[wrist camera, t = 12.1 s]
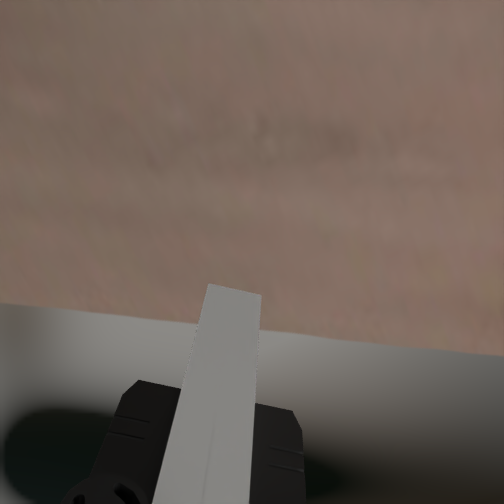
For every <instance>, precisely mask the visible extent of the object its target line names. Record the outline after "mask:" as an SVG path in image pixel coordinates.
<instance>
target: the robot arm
mask: <svg viewBox="0 0 504 504" xmlns="http://www.w3.org/2000/svg"><path fill="white" fill-rule="evenodd" d="M260 310H261V295H258V294H254V293H249V292H245V291H241V290H236V289H232V288H227V287H223V286H218V285H214V284H208V287H207V291H206V295H205V299H204V303H203V307H202V311H201V315H200V319H199V322H198V326H197V330H196V335H195V338H194V342H193V346H192V350H191V354H190V358H189V362H188V365H187V370H186V373H185V377H184V381H183V385H182V389H179V388H175V387H170V386H165V385H160V384H155V383H151V382H146V381H141V380H138V381H137V382H136V383H135V384H134V385H133V386H131V387H130V388H129V389H128V390H127V391H126V392H125V393H124V394H123V395H122V397H121V400H120V402H119V405H118V407H117V410H116V412H115V415H114V418H113V420H112V422H111V424H110V427H109V429H108V432H107V435H106V437H105V439H104V442H103V444H102V446H101V449H100V451H99V454H98V457H97V459H96V461H95V464H94V466H93V469H92V471H91V474H90V476H89V478H88V479H85V480H83V481H82V482H80V483H79V484H78V485H76V486H75V487H73V488H72V489H71V490H69V492H68V493H67V495H66V496H65V498H64V499H63V500H62V502H61V503H60V504H306V492H305V474H304V456H303V440H302V439H303V438H302V430H301V427H300V425H299V424H298V421H297V419H296V417H295V416H294V414H293V411H291V410H286V409H281V408H276V407H272V406H267V405H262V404H257V403H255V393H256V377H257V359H258V343H259V327H260Z"/></svg>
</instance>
